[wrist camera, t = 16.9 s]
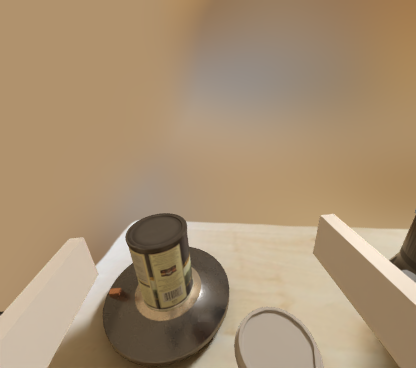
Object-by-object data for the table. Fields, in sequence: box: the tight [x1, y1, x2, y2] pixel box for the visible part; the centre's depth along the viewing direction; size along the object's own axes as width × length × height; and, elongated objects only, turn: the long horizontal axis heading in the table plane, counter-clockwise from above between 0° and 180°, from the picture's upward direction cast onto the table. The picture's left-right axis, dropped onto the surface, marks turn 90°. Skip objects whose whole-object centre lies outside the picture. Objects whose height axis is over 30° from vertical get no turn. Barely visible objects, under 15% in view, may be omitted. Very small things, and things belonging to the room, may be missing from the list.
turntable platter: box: [103, 247, 229, 366], centre depth 40 cm, size 24×24×2 cm
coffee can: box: [126, 213, 194, 312], centre depth 37 cm, size 10×10×14 cm
